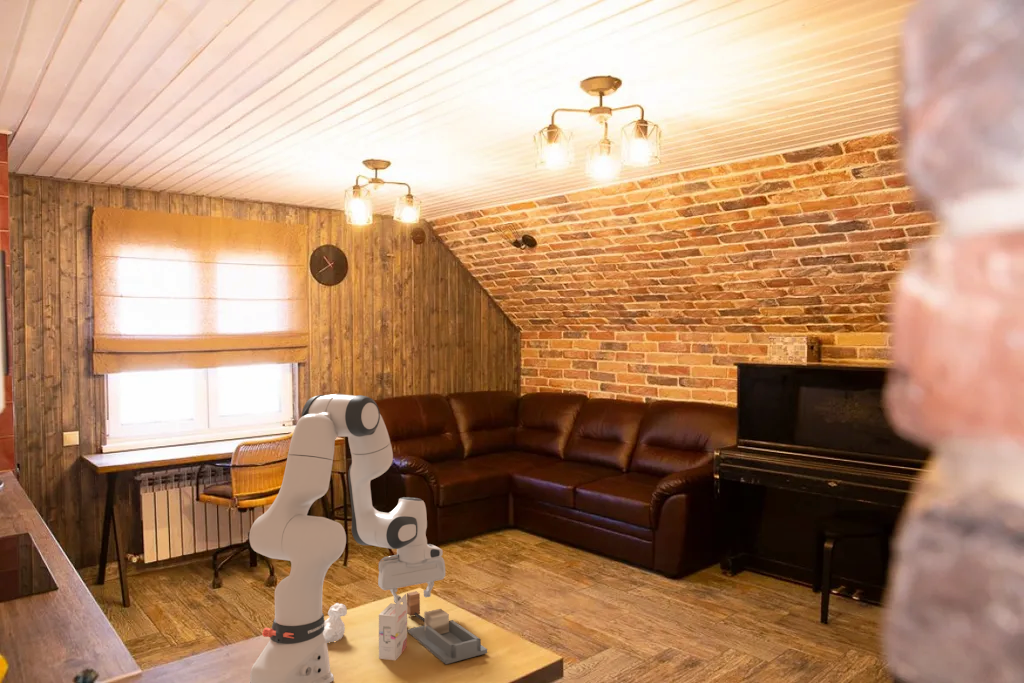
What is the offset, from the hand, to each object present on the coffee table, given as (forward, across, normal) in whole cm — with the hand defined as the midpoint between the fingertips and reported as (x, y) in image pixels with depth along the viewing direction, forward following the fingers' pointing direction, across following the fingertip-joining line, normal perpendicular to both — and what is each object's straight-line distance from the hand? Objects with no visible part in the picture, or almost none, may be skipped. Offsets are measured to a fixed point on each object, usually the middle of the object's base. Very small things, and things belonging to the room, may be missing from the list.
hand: (412, 599), depth 218 cm
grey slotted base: (+6, +1, -21) cm, 21 cm away
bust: (+6, -25, -2) cm, 26 cm away
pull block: (+5, 0, -8) cm, 9 cm away
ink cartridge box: (+6, -14, -19) cm, 25 cm away
